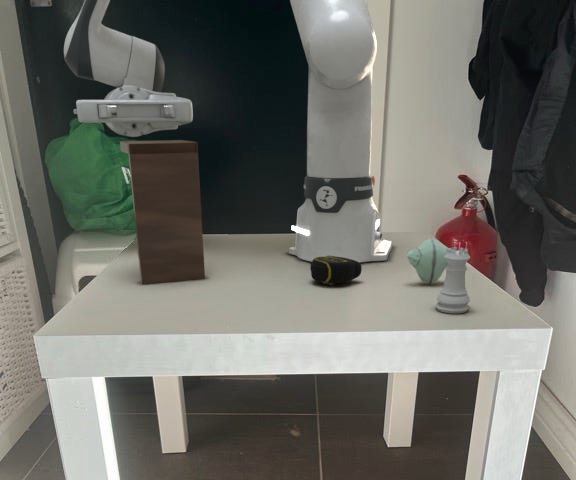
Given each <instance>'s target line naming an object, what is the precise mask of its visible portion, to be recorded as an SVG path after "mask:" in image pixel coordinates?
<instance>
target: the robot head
mask: <svg viewBox="0 0 576 480" xmlns="http://www.w3.org/2000/svg"><path fill="white" fill-rule="evenodd" d="M447 252H448V246H446V245H443V243H441V242H440V241H439V240H437V239H432V238H429V239H426V240H424V241H423V242H421V244H420V245H418V246H417V247H415V248H414V249H411V250H408V251H407V254H406V257H407V260H408V262H409V263H410V265H411V266H412V267H413V268H414V269H415V271H416V274H417V276H418V278H419V279H420V280H421V282H423V283H425V284H427V285H432V284H435V283H436V282H438V280H439V279H440V278H441V277H442V275H443V273H444V271H445V270H446V269H445V267H446V266H447V261H446V259H445V257H444V256H445V255H446V254H447Z"/></svg>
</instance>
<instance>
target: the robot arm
mask: <svg viewBox="0 0 576 480" xmlns="http://www.w3.org/2000/svg"><path fill="white" fill-rule="evenodd" d="M110 2H111V0H82V2H81V5H80V7H79V10H78V12H77V15H76V16H75V19H74V21H73V23H72V24H71V26H70V27H69V30H68V31H67V34H66V36H65V38H64V44H63V58H64V62H65V63H66V65H67V66H68V68H69V69H70V70H71V72H72V73H73V74H74V75H75V76H76V78H81V79H84V80H85V79H86V80H90V81H93V82H94V81H96V82H99V83H102V84H105V85H108V86H112V87H115V88H114V89H113V90H111V91H109V92H108V93H107V94H106V96H105V97H104V99H77V100H76V102H75V104H76V105H75V106H76V108H74V109H73V114H74V115H77V121H78V122H79V123H81V124H93V123H94V124H96V123H97V124H99V123H101V124H104V123H105V125H106V126H107V127H108V128H109V130H111V131H113V132H114V133H116V134H118V135H121V136H125V137H130V138H136V137H141V136H143V135H145V136H146V135H148V134H152V133H154V132H161V131H172V130H177V129H178V128H179V126H184V125H188V124H191V123H192V122H193V119H194V111H193V101H192V99H189V98H185V97H180V96H177V95H176V93H174V92H167V91H165V92H164V91H162V90H163V86H164V81H165V74H166V66H165V65H166V64H165V60H164V58H163V56H162V53H161V51H160V49H159V48H158V46H157V44H155V43H152V42H150V41H147V40H144V39H142V38H138V37H136V36H134V35H129V34H126V33H124V32H121V31H119V30H116V29H112V28H110V27H108V26H105V25H104V24H102V22H103V19H104V16H105V14H106V11H107V9H108V6H109V4H110ZM289 3H290V5H291V9H292V13H293V16H294V20H295V23H296V26H297V30H298V33H299V34H298V35H299V37H300V40H301V44H302V48H303V52H304V54H305V58H306V62H307V64H308V74H307V75H308V76H307V77H308V78H307V79H308V82H307V85H308V87H307V120H306V121H307V122H306V175H305V177H304V182H303V197H304V198H305V200H304V202H303V203H302V205H300V206H299V207H298V209H297V214H296V224H295V225H291V231H294V232H295V241H294V242H295V243H294V245H293V246H290V247H289V248H288V254H290V255H293V256H296V257H297V258H298V259H300V260H302V261H306V262H310V263H311V262H312V260H313V259H314V258H316V257H323V256H335V257H343V258H348V259H352V260H355V261H357V262H359V263H360V264H361V263H367V262H384V261H387V260H388V258H389V255H390V253H391V251H392V248H393V242H392V240H387V239H382V238H383V234H382V216H381V214H380V212H379V210H378V208H377V206H376V204H375V202H374V200H373V196H374V188H375V184H376V179H375V175H374V176H373V175H371V158H372V154H371V153H372V135H373V134H372V133H373V132H372V131H373V129H372V128H373V120H372V119H373V115H372V114H373V113H372V112H373V110H372V109H373V67H374V66H373V65H374V63H375V61H376V57H377V51H378V42H377V41H378V40H377V35H376V32H375V29H374V25H373V22H372V18H371V14H370V12H369V8H368V4H367V1H366V0H289Z"/></svg>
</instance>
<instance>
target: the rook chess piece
mask: <svg viewBox="0 0 576 480" xmlns="http://www.w3.org/2000/svg"><path fill="white" fill-rule="evenodd" d="M447 248H448V247H447ZM444 257H445V259H446V261H447V266H446V267H445V269H444V270H445V271H446V272H445V277H444V282H443V287H442V289H441V290H440V293H438V294H437V297H436V301H437V303H435V308H436V309H437V310H438V311H439V312H441V313H445V314H453V315H455V314H464V313H467V312H468V310H470V307H471V306H470V305H469V303H470V302H471V298H470V296H469V295H468V291H467V288H466V272H467V270H468V268H467V265H466V264H467V262H468V261H469V260H470V259H471V256H470V254H469V249H468V248H464V247H459V250H458V247H449V248H448V252H447V254H446V255H445V256H444Z"/></svg>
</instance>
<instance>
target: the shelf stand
mask: <svg viewBox="0 0 576 480" xmlns="http://www.w3.org/2000/svg"><path fill="white" fill-rule="evenodd" d="M119 146H120V147H119V148H120V152H121V153H125V154H126V155H128V164H129V174H130V184H131V186H130V187H131V194H132V195H131V196H132V205H133V216H134V225H135V227H134V228H135V237H136V247H137V257H138V258H137V259H138V268H139V278H140V283H141V285H150V284H161V283H173V282H183V281H192V280H193V281H194V280H195V281H196V280H205V279H206V272H205V271H206V270H205V255H204V237H203V235H204V233H203V220H202V217H203V216H202V202H201V201H202V200H201V186H200V185H201V183H200V168H199V167H200V166H199V148H198V142H197V141H192V140H184V139H172V140H171V139H170V140H168V139H167V140H166V139H165V140H164V139H163V140H120V141H119Z"/></svg>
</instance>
